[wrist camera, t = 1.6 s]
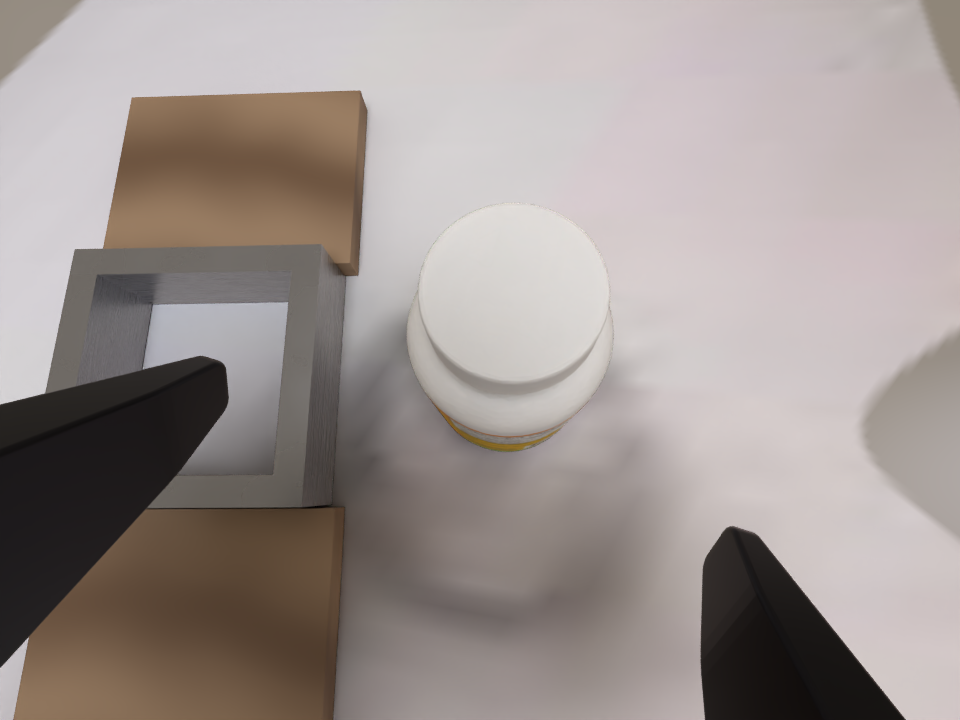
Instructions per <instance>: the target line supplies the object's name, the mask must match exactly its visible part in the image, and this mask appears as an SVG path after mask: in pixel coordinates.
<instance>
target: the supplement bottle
mask: <svg viewBox="0 0 960 720" xmlns="http://www.w3.org/2000/svg"><path fill="white" fill-rule="evenodd" d="M609 305H610V283H609V276H608V271H607V268H606V266H605V263H604V261H603V258H602V256H601V254H600V252H599V250H598V249H597V247H596V245H595V244H594V242H593V241H592V240H591V238H590V237H589V236H588V235H587V234H586V233H585V232H584V231H583V230H582V229H581V228H580V227H579V226H578V225H576V224H575V223H574V222H572V221H571V220H569V219H568V218H566V217H565V216H563V215H561V214H559V213H557V212H555V211H552V210H550V209H547V208H544V207H540V206H536V205H533V204H525V203H502V204H496V205H491V206H487V207H484V208H481V209H478V210H475V211H473V212H471V213H469V214H467V215H465V216H463V217H462V218H460V219H459V220H457V221H456V222H454V223H453V224H452V225H451V226H449V227H448V228H447V229H446V230H445V231H444V232H443V233H442V234H441V235H440V236H439V237H438V239H437V240H436V241H435V243H434V244H433V246H432V247H431V249H430V250H429V252H428V254H427V256H426V258H425V261H424V263H423V266H422V269H421V272H420V277H419V284H418V290H417V292H416V294H415V297H414V299H413V302H412V305H411V308H410V312H409V316H408V322H407V347H408V353H409V358H410V362H411V365H412V368H413V370H414V373H415V375H416V377H417V379H418V381H419V383H420V385H421V387H422V388H423V390H424V391H425V393H426V394H427V396H428V397H429V398H430V400H431V401H432V402H433V404H434V405H435V406H436V408H437V409H438V410H439V412H440V413H441V414H442V415H443V417H444V418H445V419H446V421H447V422H448V423H449V424H450V425H451V427H452V428H453V429H454V430H455V431H456V432H457V433H459V434H460V435H461V436H462V437H464V438H465V439H467V440H468V441H470V442H472V443H474V444H476V445H478V446H480V447H483V448H486V449H489V450H493V451H500V452H513V451H520V450H524V449H528V448H531V447H534V446H536V445H538V444H540V443H542V442H544V441H546V440H547V439H549V438H550V437H552V436H553V435H554V434H555V433H556V432H558V431H559V430H560V429H561V428H562V427H563V426H564V425H565V424H566V423H567V422H568V421H569V420H570V419H571V418H572V417H573V416H574V415H575V414H576V413H577V412H578V411H579V410H580V409H581V408H582V407H584V406H585V404H586V403H587V402H588V401H589V400H590V398H591V397H592V396H593V394H594V393H595V392H596V390H597V388H598V387H599V385H600V383H601V381H602V379H603V378H604V376H605V373H606V371H607V368H608V365H609V362H610V359H611V355H612V350H613V340H614V329H613V319H612V314H611V310H610V306H609Z"/></svg>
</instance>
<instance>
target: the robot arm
mask: <svg viewBox="0 0 960 720" xmlns="http://www.w3.org/2000/svg"><path fill="white" fill-rule="evenodd" d="M228 399H229V396H228V385H227V374H226V367H225V365H224V364H223V363H222V362H220V361H218V360H215V359H211V358H208V357H205V356H197V357H193V358H189V359H185V360H181V361H177V362H172V363H168V364H164V365H160V366H156V367H152V368H148V369H144V370H140V371H136V372H131V373H127V374H123V375H119V376H115V377H111V378H107V379H103V380H99V381H95V382H91V383H86V384H82V385H78V386H74V387H70V388H66V389H62V390H58V391H54V392H50V393H46V394H41V395H37V396H33V397H29V398H25V399H21V400H17V401H13V402H9V403H5V404H1V405H0V668H1V667H2V665H3V664H4V663H5V662H6V661H7V660H8V659H9V658H10V657H11V656H12V655H13V653H14V652H15V651H16V650H17V649H18V648H19V647H20V646H21V645H22V644H23V643H24V641H25V640H26V639H27V638H28V637H29V636H30V635H31V634H32V633H33V632H34V631H35V630H36V628H37V627H38V626H39V625H40V624H41V623H42V622H43V621H44V620H45V619H46V618H47V616H48V615H49V614H50V613H51V612H52V611H53V610H54V609H55V608H56V607H57V606H58V604H59V603H60V602H61V601H62V600H63V599H64V598H65V597H66V596H67V595H68V594H69V592H70V591H71V590H72V589H73V588H74V587H75V586H76V585H77V584H78V583H79V582H80V580H81V579H82V578H83V577H84V576H85V575H86V574H87V573H88V572H89V571H90V570H91V568H92V567H93V566H94V565H95V564H96V563H97V562H98V561H99V560H100V559H101V558H102V556H103V555H104V554H105V553H106V552H107V551H108V550H109V549H110V548H111V547H112V546H113V544H114V543H115V542H116V541H117V540H118V539H119V538H120V537H121V536H122V535H123V534H124V532H125V531H126V530H127V529H128V528H129V527H130V526H131V525H132V524H133V523H134V522H135V520H136V519H137V518H138V517H139V516H140V515H141V514H142V513H143V512H144V511H145V510H146V508H147V507H148V506H149V505H150V504H151V503H152V502H153V501H154V500H155V499H156V498H157V496H158V495H159V494H160V493H161V492H162V491H163V490H164V489H165V488H166V487H167V485H168V484H169V483H170V482H171V481H172V480H173V479H174V477H175V476H176V475H177V474H178V472H179V471H180V470H181V469H182V467H183V466H184V465H185V463H186V462H187V461H188V459H189V458H190V457H191V455H192V454H193V453H194V451H195V450H196V449H197V447H198V446H199V445H200V443H201V442H202V441H203V439H204V438H205V437H206V435H207V434H208V433H209V431H210V430H211V429H212V427H213V426H214V424H215V423H216V422H217V420H218V419H219V418H220V416H221V415H222V414H223V412H224V411H225V409H226V407H227V404H228ZM701 676H702V689H703V701H704V712H705V720H906V719H905V718H904V717H903V716H902V714H901V713H900V712H899V711H898V709H897V708H896V707H895V706H894V704H893V703H892V702H891V701H890V699H889V698H888V697H887V696H886V694H885V693H884V692H883V691H882V689H881V688H880V687H879V686H878V684H877V683H876V682H875V681H874V679H873V678H872V677H871V676H870V674H869V673H868V672H867V671H866V670H865V668H864V667H863V666H862V665H861V663H860V662H859V661H858V660H857V658H856V657H855V656H854V655H853V653H852V652H851V651H850V650H849V648H848V647H847V646H846V645H845V643H844V642H843V641H842V640H841V638H840V637H839V636H838V635H837V633H836V632H835V631H834V630H833V628H832V627H831V626H830V625H829V623H828V622H827V621H826V620H825V618H824V617H823V616H822V615H821V613H820V612H819V611H818V610H817V608H816V607H815V606H814V605H813V603H812V602H811V601H810V600H809V598H808V597H807V596H806V595H805V593H804V592H803V591H802V590H801V588H800V587H799V586H798V585H797V583H796V582H795V581H794V580H793V578H792V577H791V576H790V575H789V573H788V572H787V571H786V570H785V568H784V567H783V566H782V565H781V563H780V562H779V561H778V560H777V558H776V557H775V556H774V555H773V553H772V552H771V551H770V550H769V548H768V547H767V546H766V545H765V543H764V542H763V541H762V540H761V538H760V537H759V536H758V535H756V534H755V533H753V532H750V531H747V530H744V529H741V528H738V527H734V526H730V527H728V528H726V529H725V530H724V531H723V533H722V534H721V536H720V537H719V539H718V540H717V542H716V543H715V545H714V546H713V547H712V549H711V550H710V552H709V553H708V555H707V557H706V559H705V561H704V565H703V579H702V616H701Z"/></svg>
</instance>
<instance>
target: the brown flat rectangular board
mask: <svg viewBox="0 0 960 720" xmlns="http://www.w3.org/2000/svg"><path fill="white" fill-rule="evenodd" d="M366 124H367V109H366V106H365V103H364V100H363V97H362V94H361V91H330V92H298V93H265V94H233V95H200V96H168V97H135V98H132V100H131V105H130V110H129V115H128V121H127V126H126V131H125V136H124V142H123V147H122V152H121V157H120V163H119V168H118V173H117V178H116V184H115V189H114V194H113V199H112V205H111V210H110V215H109V220H108V226H107V231H106V236H105V241H104V247H103V249H116V248H163V247H209V246H256V245H302V244H322V245H323V247H324V248H325V250H326V251H327V252H328V254H329V255H330V257H331V258H332V259H333V261H334V262H335V263H336V265H337V266H338V268H339V269H340V270H341V272H342V273H343V275H344V276H352V275H358V266H359V248H360V230H361V213H362V195H363V177H364V159H365V142H366ZM344 515H345V507H296V508H146V510H145V511H144V512H143V513H142V514H141V515H140V516H139V517H138V518H137V519H136V520H135V522H134V523H133V524H132V525H131V526H130V527H129V528H128V529H127V530H126V531H125V532H124V534H123V535H122V536H121V537H120V538H119V539H118V540H117V541H116V542H115V543H114V544H113V546H112V547H111V548H110V549H109V550H108V551H107V552H106V553H105V554H104V555H103V556H102V558H101V559H100V560H99V561H98V562H97V563H96V564H95V565H94V566H93V567H92V568H91V570H90V571H89V572H88V573H87V574H86V575H85V576H84V577H83V578H82V579H81V580H80V582H79V583H78V584H77V585H76V586H75V587H74V588H73V589H72V590H71V591H70V592H69V594H68V595H67V596H66V597H65V598H64V599H63V600H62V601H61V602H60V603H59V604H58V606H57V607H56V608H55V609H54V610H53V611H52V612H51V613H50V614H49V615H48V616H47V618H46V619H45V620H44V621H43V622H42V623H41V624H40V625H39V626H38V627H37V628H36V630H35V631H34V632H33V633H32V634H31V635H30V636H29V640H28V646H27V651H26V656H25V661H24V667H23V672H22V677H21V682H20V688H19V693H18V698H17V703H16V709H15V714H14V719H13V720H333V711H334V693H335V675H336V657H337V639H338V622H339V604H340V586H341V568H342V551H343V533H344Z"/></svg>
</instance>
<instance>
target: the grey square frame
mask: <svg viewBox="0 0 960 720" xmlns="http://www.w3.org/2000/svg"><path fill="white" fill-rule="evenodd" d="M345 283H346V277H345V276H344V275H343V273H342V272H341V270H340V269H339V268H338V266H337V265H336V263H335V262H334V261H333V259H332V258H331V257H330V255H329V254H328V252H327V251H326V250H325V248H324V247H323V245H322V244H302V245H256V246H209V247H163V248H116V249H75V251H74V256H73V261H72V266H71V271H70V275H69V280H68V285H67V290H66V295H65V300H64V305H63V310H62V314H61V319H60V324H59V329H58V334H57V339H56V344H55V349H54V353H53V358H52V363H51V368H50V373H49V378H48V383H47V387H46V392H45V394H46V393H50V392H54V391H58V390H62V389H66V388H70V387H74V386H78V385H82V384H86V383H91V382H95V381H99V380H103V379H107V378H111V377H115V376H119V375H123V374H127V373H131V372H136V371H140V370H142V365H143V358H144V352H145V346H146V340H147V333H148V327H149V321H150V315H151V308H152V304H188V303H244V302H289V303H288V314H287V325H286V336H285V347H284V358H283V369H282V380H281V391H280V402H279V413H278V424H277V435H276V446H275V457H274V468H273V475H176V476H175V477H174V479H173V480H172V481H171V482H170V483H169V484H168V485H167V487H166V488H165V489H164V490H163V491H162V492H161V493H160V494H159V495H158V496H157V498H156V499H155V500H154V501H153V502H152V503H151V504H150V505H149V506H148V507H147V508H258V507H310V506H321V505H332V491H333V475H334V459H335V443H336V427H337V411H338V395H339V379H340V363H341V347H342V331H343V315H344V299H345Z"/></svg>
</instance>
